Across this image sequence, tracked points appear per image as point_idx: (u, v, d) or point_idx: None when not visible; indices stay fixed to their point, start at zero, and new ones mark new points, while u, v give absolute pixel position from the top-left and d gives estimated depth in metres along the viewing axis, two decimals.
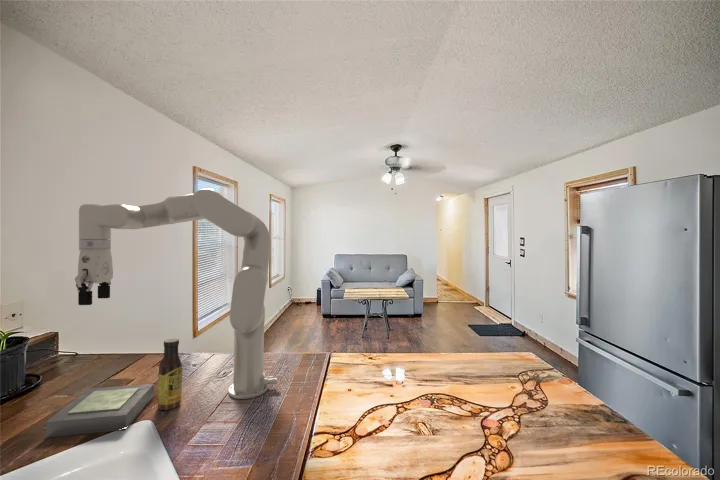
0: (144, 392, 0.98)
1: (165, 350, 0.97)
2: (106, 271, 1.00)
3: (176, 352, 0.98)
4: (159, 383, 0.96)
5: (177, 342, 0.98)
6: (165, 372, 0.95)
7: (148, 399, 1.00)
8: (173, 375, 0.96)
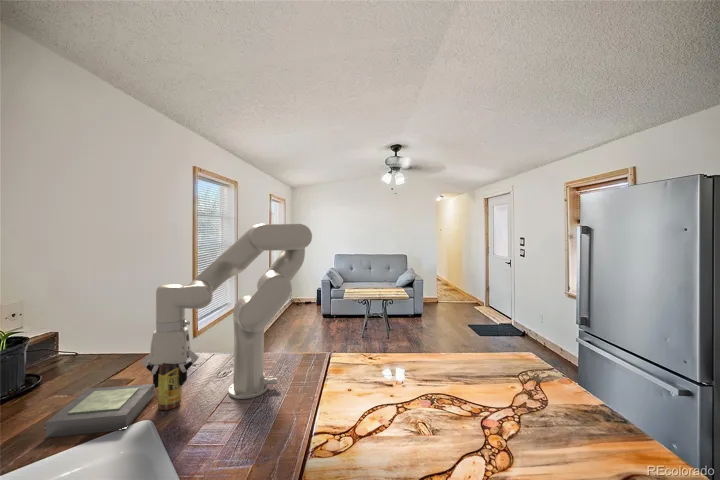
0: (144, 392, 0.98)
1: None
2: None
3: None
4: (159, 383, 0.96)
5: None
6: (164, 372, 0.95)
7: (148, 399, 1.00)
8: (173, 375, 0.96)
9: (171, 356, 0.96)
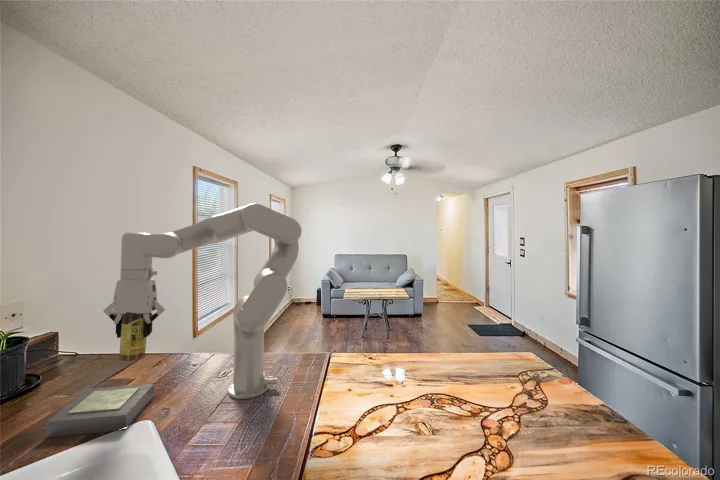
0: (144, 392, 0.98)
1: None
2: None
3: None
4: (122, 333, 0.92)
5: None
6: (128, 321, 0.92)
7: (148, 399, 1.00)
8: (137, 325, 0.93)
9: (135, 305, 0.93)
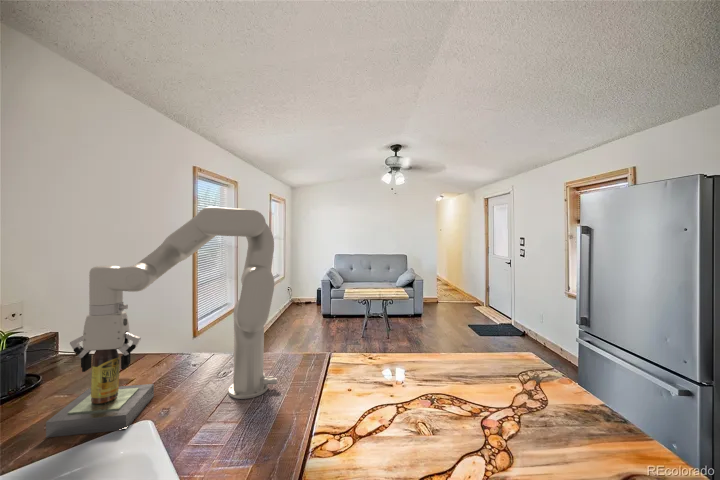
0: (144, 392, 0.98)
1: None
2: None
3: None
4: (92, 375, 0.90)
5: None
6: (98, 364, 0.90)
7: (148, 399, 1.00)
8: (107, 367, 0.91)
9: (105, 341, 0.91)
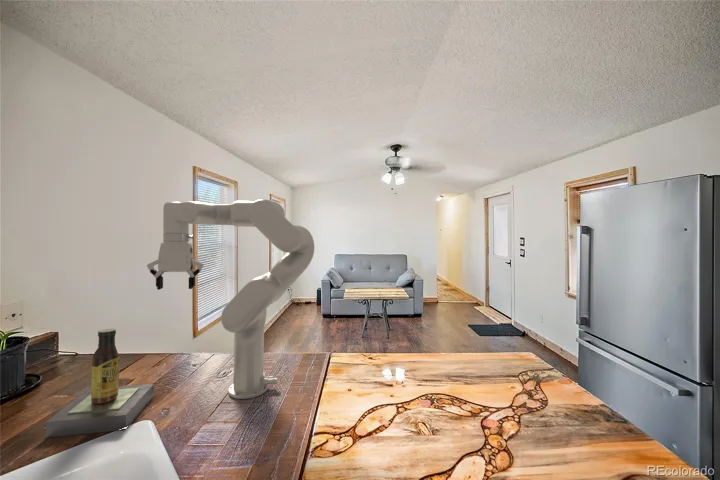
0: (144, 392, 0.98)
1: (99, 340, 0.91)
2: None
3: (112, 343, 0.93)
4: (92, 375, 0.90)
5: (113, 332, 0.93)
6: (98, 364, 0.90)
7: (148, 399, 1.00)
8: (107, 367, 0.91)
9: (176, 264, 1.09)
